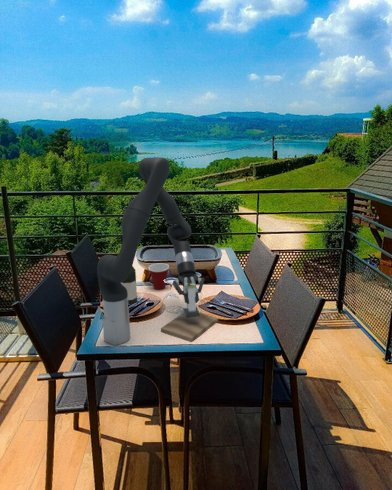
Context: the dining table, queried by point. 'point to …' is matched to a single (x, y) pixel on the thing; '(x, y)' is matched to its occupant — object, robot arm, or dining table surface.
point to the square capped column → (191, 302)
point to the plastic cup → (159, 275)
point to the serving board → (189, 326)
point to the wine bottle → (131, 287)
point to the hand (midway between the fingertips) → (192, 302)
